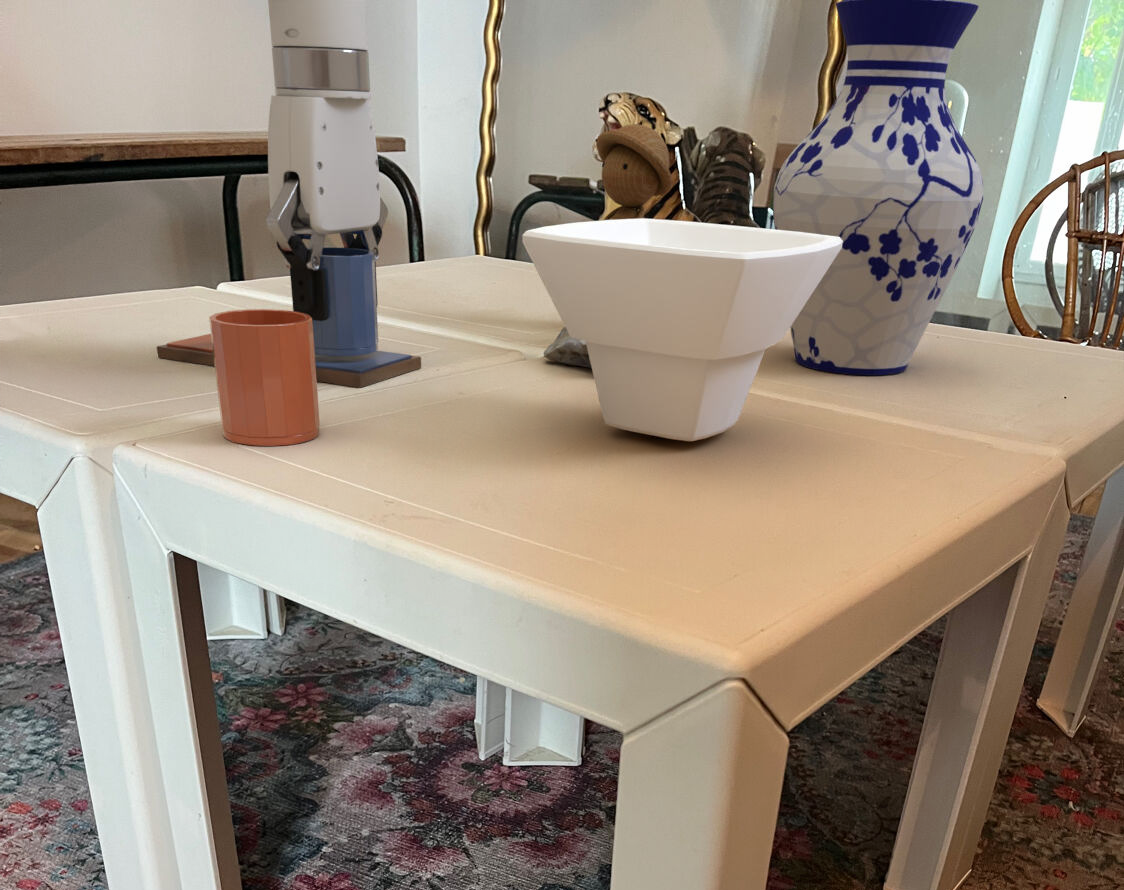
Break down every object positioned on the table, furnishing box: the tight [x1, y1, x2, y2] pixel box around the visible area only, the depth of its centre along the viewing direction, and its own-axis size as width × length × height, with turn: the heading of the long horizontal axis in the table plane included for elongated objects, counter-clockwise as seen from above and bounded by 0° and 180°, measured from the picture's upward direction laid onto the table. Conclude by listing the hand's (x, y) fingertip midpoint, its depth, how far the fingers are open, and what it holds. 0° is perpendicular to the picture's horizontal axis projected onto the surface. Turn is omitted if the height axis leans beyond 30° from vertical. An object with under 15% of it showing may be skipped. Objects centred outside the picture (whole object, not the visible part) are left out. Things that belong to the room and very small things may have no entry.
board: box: [156, 333, 422, 389], centre depth 103 cm, size 22×10×1 cm, turn 65°
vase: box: [772, 0, 984, 376], centre depth 104 cm, size 19×19×30 cm
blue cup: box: [307, 246, 379, 356], centre depth 98 cm, size 7×7×8 cm
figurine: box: [595, 123, 673, 220], centre depth 119 cm, size 9×7×20 cm
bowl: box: [522, 217, 843, 442], centre depth 82 cm, size 19×19×14 cm
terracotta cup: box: [208, 308, 320, 447], centre depth 79 cm, size 7×7×8 cm
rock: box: [543, 325, 592, 369], centre depth 105 cm, size 11×6×10 cm
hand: (336, 311), depth 99 cm, fingers closed on blue cup, 6 cm apart
